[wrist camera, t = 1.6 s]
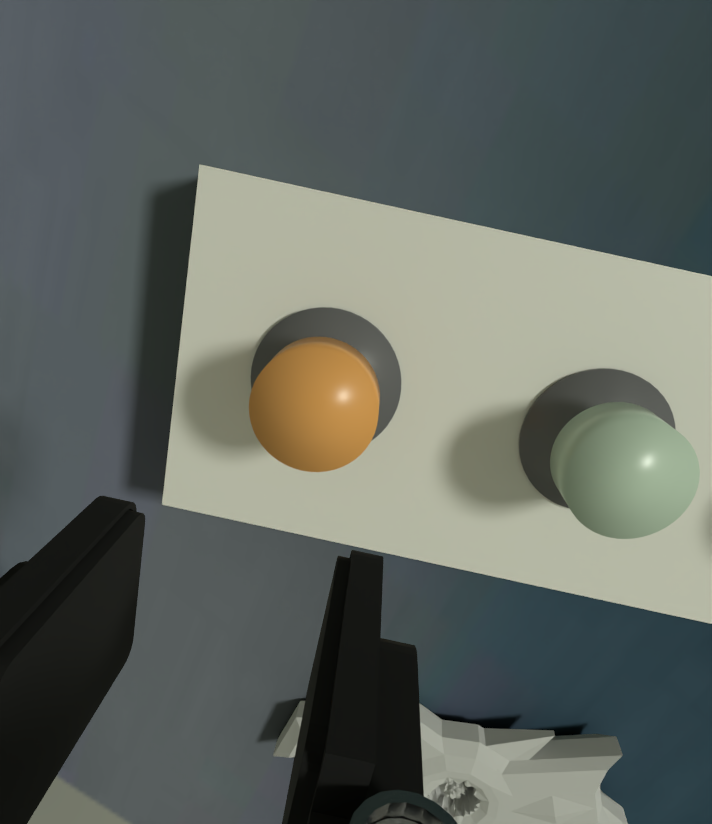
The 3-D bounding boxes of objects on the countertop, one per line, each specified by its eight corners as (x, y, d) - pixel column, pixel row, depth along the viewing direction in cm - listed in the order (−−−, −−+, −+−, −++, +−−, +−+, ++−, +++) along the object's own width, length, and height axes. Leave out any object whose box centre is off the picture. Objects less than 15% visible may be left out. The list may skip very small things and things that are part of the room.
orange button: (271, 325, 21) (259, 335, 19) (391, 351, 21) (391, 364, 19) (253, 437, 22) (240, 457, 20) (366, 461, 22) (363, 484, 20)
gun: (625, 716, 27) (637, 866, 30) (604, 661, 30) (617, 802, 33) (254, 738, 30) (299, 871, 33) (271, 686, 33) (311, 812, 36)
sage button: (571, 390, 21) (589, 407, 19) (691, 416, 21) (720, 435, 19) (534, 498, 22) (547, 524, 20) (647, 522, 22) (670, 550, 20)
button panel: (222, 170, 24) (197, 163, 21) (1031, 347, 24) (1124, 366, 21) (185, 476, 28) (160, 506, 25) (868, 624, 28) (924, 672, 25)
